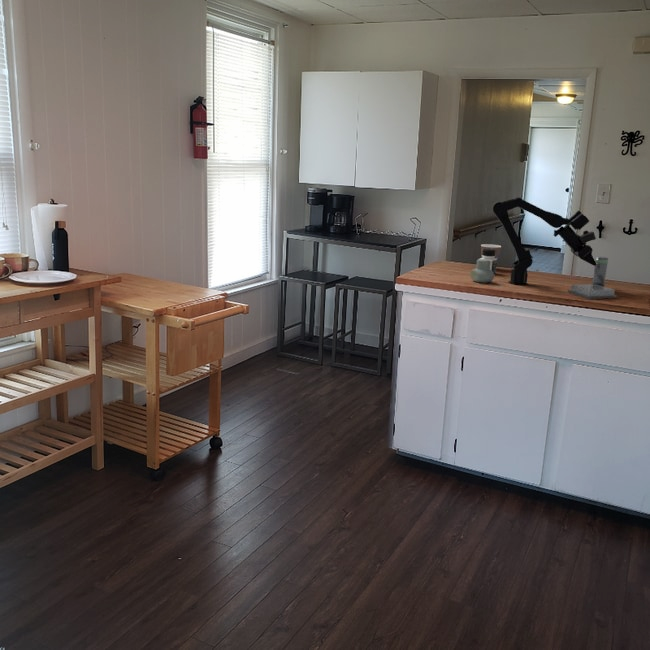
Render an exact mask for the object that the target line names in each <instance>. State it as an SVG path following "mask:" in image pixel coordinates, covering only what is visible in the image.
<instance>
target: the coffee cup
mask: <svg viewBox="0 0 650 650" xmlns="http://www.w3.org/2000/svg"><path fill="white" fill-rule="evenodd" d="M480 246H481V247H480V251H481V253H480V255H481V257H480V258H483V257H482V251H483V249H486V248H489V249H494V250H495V259H497V264H498V263H499V262H498V261H499V259H500V253H501V250H502V249H501V248H502V246H501V245H499V244H491V243H490V244H487V243H485V244H484V243H483V244H480Z"/></svg>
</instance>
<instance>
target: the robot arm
mask: <svg viewBox="0 0 650 650" xmlns="http://www.w3.org/2000/svg"><path fill="white" fill-rule="evenodd" d="M515 208H520V209H522V210H524V211H526V212H528V213H530V214H532V215H533V216H536V217H538V218H539V219H541V220H543V221H544V222H545V223H546V224H548V225H549V226H551V227H552V228H554V229H553V236H554V237H557V236H559V237H560V238H561V240H563V241H564V242H565V244H566V245H567V246H568V247H569V248H570V252H571V253H572V254H573V255H575V256H576V257H578V258H579V259H580V260H582V261H584V262H585V263H588V264H590V265H591V266H594V267H595V266H596V265H597V264H596V262H595V260H596V259H595V258H594V257H593V248H592V247H591V245H589V244H588V242H591V241H595V240H597V237H596V234H595V232H594V231H588V230H587V229H586V230H584V231H583V232H582V234H581V235H579V234H577V233H576V232H575V231H576V230H577V231H580V230H581V229H583V228H584V227H585V226H586V225H587V224H589V223H590V220H589V218H588V217H587V216H586V215H585V214H583V213H582V212H581V211H580V210H577V211H576V212H574V214H573V215H571V217H563V216H562V215H560V214H558V213H555V212H551V211H547V210H544V209H542V208H541V207H538V206H537V205H535V204H532V203H530V202H529V201H526V200H524V199H522V198H521V197H519V196H517V197H515V198H512V199H508V200H505V201H504V200H503V201H500V200H499V201H498V200H497V201H495V202H493V204H492V206H491V210H492V212H493V214H494V215H495V216H496V218H497V219H498V220H499V221H500V223H501V225H502V227H503V229H504V231H505V233H506V235H507V237H508V239H509V241H510V243H511V244H512V246H513V249H514V253H515V256H516V260H515V261H514V262H513V263H512V268H513V269H512V268H511V271H510V272H511V273H510V281H509V280H508V283H510V284H512V285H518V286H519V285H520V286H522V285H525V286H526V285H528V283H527V282H528V275H529V274H528V268H530V267H531V266H532V265H533V258H534V256H533V255H532V253H531V251H530V249H529V248H528V247H526V248H524V246H523V244H522V242H521V240H520V238H519V236H518V234H517V232H516V230H515V228H514V226H513V224H512V222H511V220H510V217H509V212H508V211H510V210H513V209H515Z"/></svg>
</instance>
